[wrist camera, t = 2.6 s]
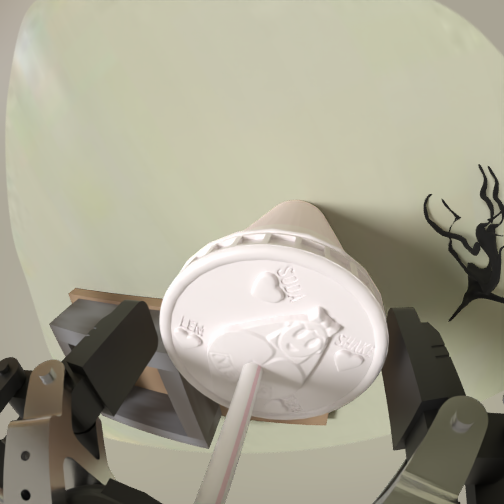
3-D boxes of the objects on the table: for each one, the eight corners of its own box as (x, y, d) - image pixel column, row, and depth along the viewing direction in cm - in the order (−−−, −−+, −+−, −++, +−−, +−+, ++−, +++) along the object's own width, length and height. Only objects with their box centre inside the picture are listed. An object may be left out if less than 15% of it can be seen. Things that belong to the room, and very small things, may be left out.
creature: (416, 160, 14) (410, 296, 15) (456, 146, 9) (443, 335, 10) (511, 174, 12) (503, 292, 13) (561, 172, 7) (547, 321, 8)
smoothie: (217, 230, 17) (42, 433, 4) (295, 149, 14) (127, 306, 1) (294, 301, 18) (242, 539, 5) (376, 235, 15) (465, 502, 2)
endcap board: (343, 309, 17) (348, 366, 13) (326, 416, 22) (323, 463, 17) (75, 288, 22) (39, 318, 17) (116, 381, 27) (94, 412, 22)
